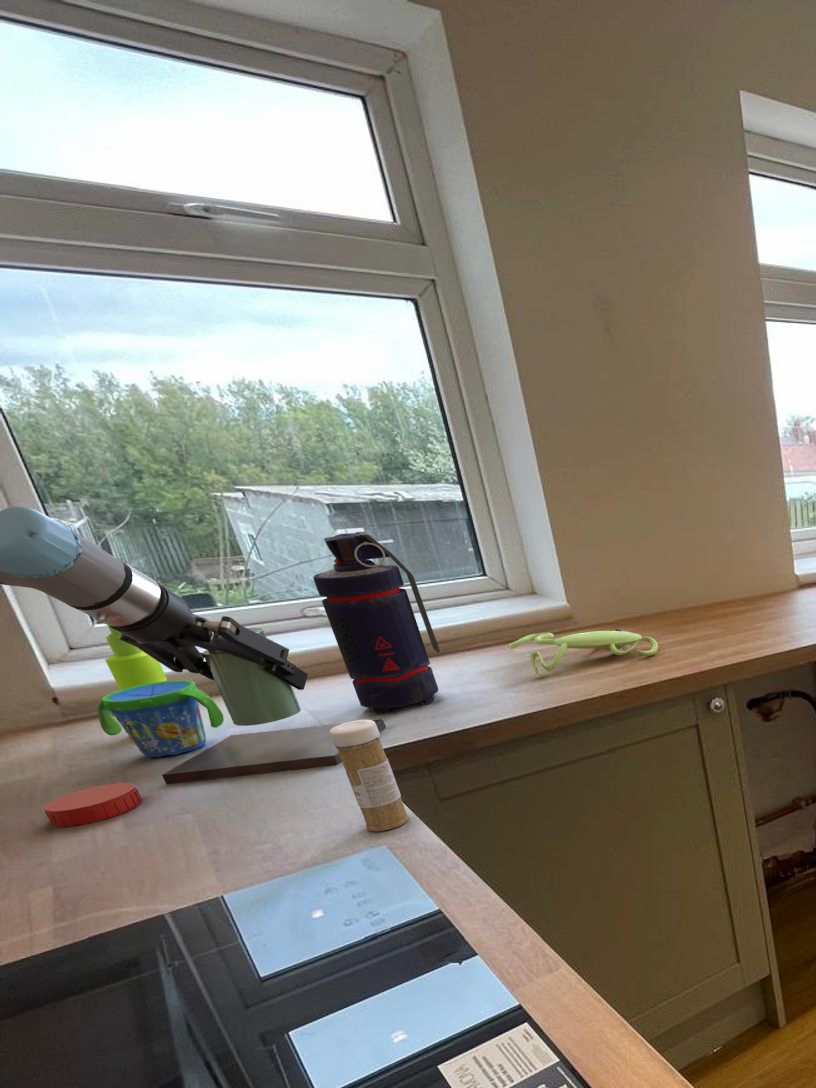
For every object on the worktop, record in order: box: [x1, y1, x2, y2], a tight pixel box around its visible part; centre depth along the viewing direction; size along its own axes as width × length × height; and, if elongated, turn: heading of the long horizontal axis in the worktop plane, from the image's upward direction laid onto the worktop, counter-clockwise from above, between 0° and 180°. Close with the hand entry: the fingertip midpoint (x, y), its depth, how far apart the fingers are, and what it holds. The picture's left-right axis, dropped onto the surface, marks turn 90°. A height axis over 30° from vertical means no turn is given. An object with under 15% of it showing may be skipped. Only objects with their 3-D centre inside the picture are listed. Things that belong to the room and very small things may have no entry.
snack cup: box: [97, 679, 225, 758], centre depth 128 cm, size 16×10×10 cm
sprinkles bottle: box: [329, 719, 410, 832], centre depth 99 cm, size 5×5×13 cm
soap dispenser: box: [104, 625, 169, 690], centre depth 136 cm, size 6×7×20 cm
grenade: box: [312, 531, 441, 715], centre depth 142 cm, size 14×12×30 cm
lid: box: [43, 782, 143, 828], centre depth 109 cm, size 9×9×2 cm
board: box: [161, 718, 387, 785], centre depth 126 cm, size 22×16×2 cm
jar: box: [202, 627, 302, 727], centre depth 121 cm, size 8×8×13 cm
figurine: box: [508, 628, 659, 678], centre depth 169 cm, size 18×27×6 cm
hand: (273, 683), depth 125 cm, fingers closed on jar, 8 cm apart
